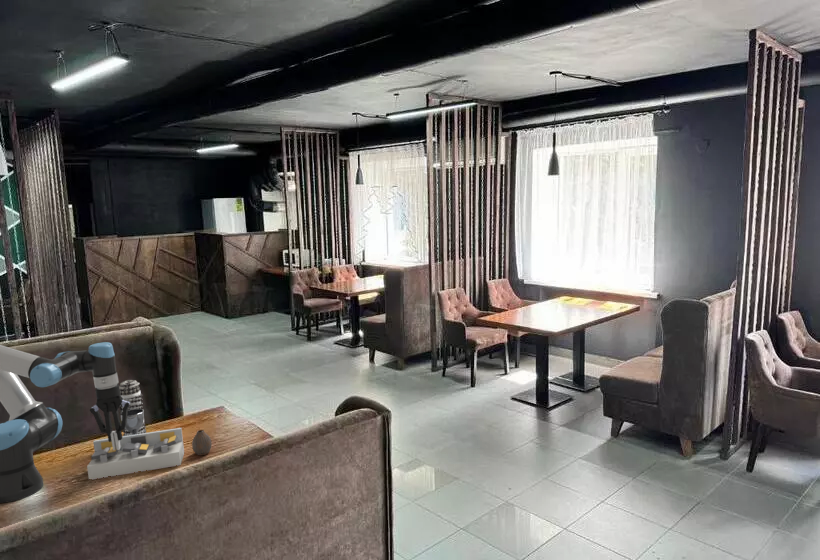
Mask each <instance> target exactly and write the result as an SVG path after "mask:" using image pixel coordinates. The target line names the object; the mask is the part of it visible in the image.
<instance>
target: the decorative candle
mask: <svg viewBox="0 0 820 560" xmlns="http://www.w3.org/2000/svg"><path fill="white" fill-rule="evenodd" d="M118 385H119V388H120V394H121V397H122V398H123V400H125V401H130V404H129V406H128V410H131V409H143V412H144V411H145V410H144V408H145V407H144V402H142V401H143V400H144V398H143V396H144V395H143V393H141V389H140V382H138V381H137V380H135V379H127V380H124V381H122V382H119V384H118ZM123 408H124V407H122V403H121V405H120V406H119V408H118V410H119V414H121V413H122V412H123ZM146 428H147V426H146V421H145V420H144V421H143V425H142V427H141V428H140V429H139V431H138V433H137V434H142V433H147V429H146ZM128 435H132V434H131V433H130V432H129V431H128V430H126V429H123V430H122V436H128Z"/></svg>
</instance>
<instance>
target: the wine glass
mask: <svg viewBox="0 0 820 560" xmlns="http://www.w3.org/2000/svg"><path fill="white" fill-rule="evenodd" d="M143 410H144V408H143V409H131V410H128V413H127V424H126V427H125V429H126V430H128V431H129V432H130V433H131V434H132V435H135V434H137V433H138V431H139V429H140V428H141V427H142V425H143V421H144V422H145V415H144V412H143ZM122 414H123V412H122V413H120V421H122Z"/></svg>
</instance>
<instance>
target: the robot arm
mask: <svg viewBox="0 0 820 560" xmlns="http://www.w3.org/2000/svg"><path fill="white" fill-rule="evenodd" d="M87 372H92V378H93V383H94V388H95V397H96V402H95V404H94V405H93V406H91V408H90V409H89V412H90V413H91V414H92V415H93V418H94V419H95V421H96V423H97V426H98V429H99V430H100V432H101V433H102V434H107V439H108V441H109V442H112V446H113V450H116V449H117V450H119V449H120V448H121V445H120V440H121V439H122V436H123V430H124V429H125V427H126V424H127V413H128V406H129V404H130V401H125V400H123V398H122V397H121V394H120V388H119V385H120V384H119V383H120V382H119V381H120V380H119V376H118V371H117V365H116V356H115V352H114V346H113V344H112V342H108V341H107V342H106V341H103V342H96V343H93V344H91V345H89V346H88V349H87V350H85V349H84V350H72V351H71V350H67V351H63V352H59V353H57V354H56V356H55V357H54V358H53V359H50V358H47V357H44V356H43V357H42V356H39V355H36V354H32V353H29V352H25V351H22V350H18V349H16V348H12V347H8V346H5V345H3V344H0V403H1V405H2V406H3V407H4V409H5V411H7V414H8V415H9V418H8V420H7V421H5V422H2V423H0V504H2V503H3V504H4V503H10V502H14V501H18V500H21V499H24V498H27V497H30V496H31V495H33V494H35V493H37V492H39V491H40V490H41V489H42V488H43V487H44V479H43V476H42V475H41V473H40V471H39V470H38V468H37V467H36V465H35V461H34V455H33V454H34V452H35V451H37V450H38V449H40V448H41V447H44V445H47V444H49V443H50V442H52V441H53V440H54V439H56V438H57V437H58V436H59V434H61V432H62V428H63V419H62V415H61V414H60V412H58V410H57V409H54V408H52V407H46V405H45V404H44V402H43V401H36V400H35V398H34V397H33V395H32V394H31V393H30V391H29V390H28V388H27V386H26V384H24V383H23V381H22V380H21V378H20V377H19V376H21V377H25V378H28V379H30V381H31V383H33V385H34V386H36V387H39V388H46V387H50V386H53V385H56V384H57V383H59V382H61V381H63V380H65V379H67V378H68V377H71V376H73V375H76V374H78V373H87ZM121 403H122V407H124V408H123V414H122V420H121V418H120V412H119V407H120V405H121ZM99 409H100V411H102V412H103V416H104V420H103V417H102V414H101V413H100V411H99ZM111 413H112V416H113V417H112V416H111ZM111 417H112V418H113V420H114V421H113V422H114V427H115V430H113V426H112V420H111V419H112V418H111ZM104 421H105V422H104ZM101 433H100V434H101Z"/></svg>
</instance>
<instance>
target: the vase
mask: <svg viewBox="0 0 820 560" xmlns="http://www.w3.org/2000/svg"><path fill="white" fill-rule="evenodd" d="M212 443H213V442H212V439H211V437H210V436H209V434H208V433H206V432H205V430H204V429H199V430H197V431H196V434H195V435H194V436H193V439H192V441H191V446H192V447H191V448H192V451H193V452H194V453H195V454H196V455H197V456H203V455H208V453H209V452H210V451H211V449H212Z"/></svg>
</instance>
